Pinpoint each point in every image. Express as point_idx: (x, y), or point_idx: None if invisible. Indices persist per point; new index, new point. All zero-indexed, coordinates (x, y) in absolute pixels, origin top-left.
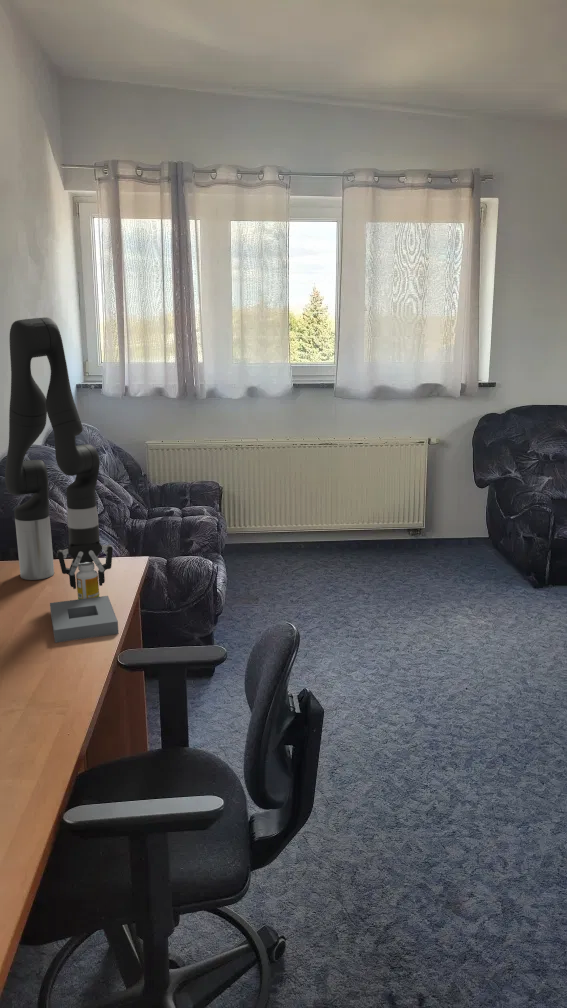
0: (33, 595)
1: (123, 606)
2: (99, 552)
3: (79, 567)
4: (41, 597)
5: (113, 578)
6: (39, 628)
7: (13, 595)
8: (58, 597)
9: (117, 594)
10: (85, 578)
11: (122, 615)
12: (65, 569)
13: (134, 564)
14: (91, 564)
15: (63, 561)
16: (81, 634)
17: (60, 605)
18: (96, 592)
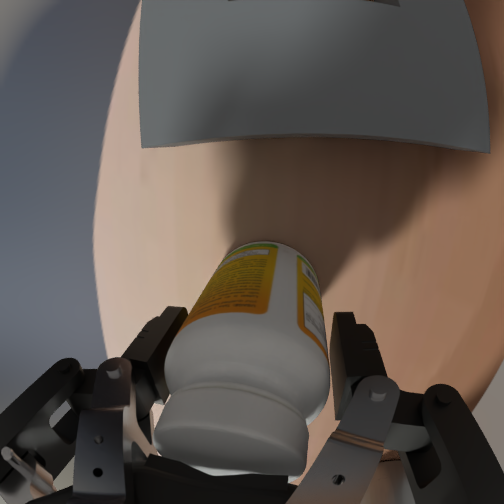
0: (445, 382)
1: (113, 139)
2: (51, 494)
3: (300, 439)
4: (435, 363)
5: None
6: (475, 26)
7: (480, 387)
8: (387, 350)
9: (142, 298)
10: (262, 321)
11: (129, 36)
12: (439, 417)
13: None
14: (169, 437)
15: (471, 482)
16: None
17: (443, 76)
18: (215, 274)
